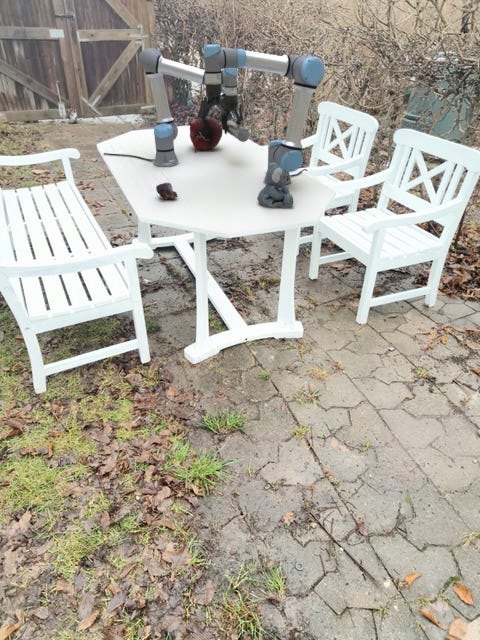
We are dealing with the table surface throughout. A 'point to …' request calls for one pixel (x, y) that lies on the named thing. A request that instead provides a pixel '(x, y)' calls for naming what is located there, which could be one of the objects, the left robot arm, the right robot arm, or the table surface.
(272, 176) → the koala plush
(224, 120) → the right robot arm
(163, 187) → the rock
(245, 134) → the rod
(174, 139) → the left robot arm
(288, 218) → the table surface
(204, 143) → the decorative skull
